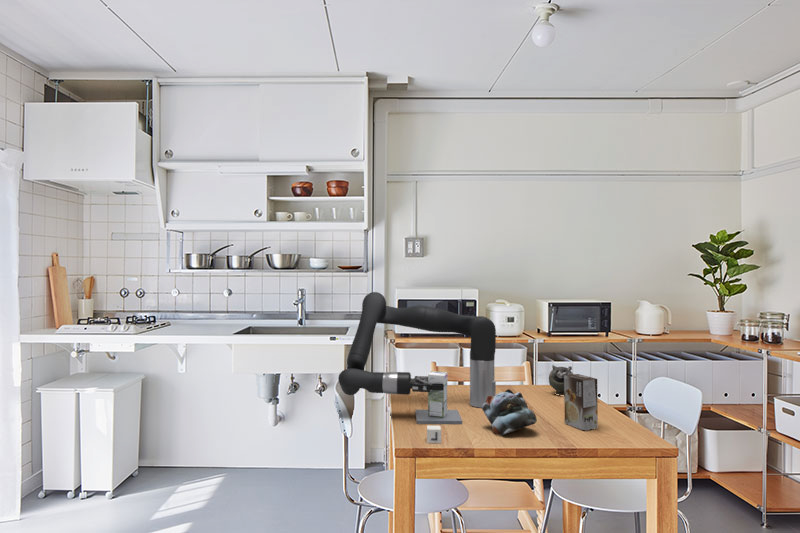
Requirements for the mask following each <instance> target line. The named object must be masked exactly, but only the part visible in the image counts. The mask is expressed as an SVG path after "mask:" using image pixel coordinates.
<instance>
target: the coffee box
mask: <svg viewBox="0 0 800 533" xmlns="http://www.w3.org/2000/svg"><path fill="white" fill-rule="evenodd" d="M563 399H564V400H563V402H564V405H563V406H564V407H563V408H564V424H565V423H566V424H565V425H567V424H568V425H567V426H570V425H571V426H570V427H573V428H575V427H576V429H578V430H581V431H583V430H585V431H590V429H592V430H595V429H594V428H599V426H598V420H599V418H598V415H599V414H598V411H599V410H598V378H596V377H595V378H594V377H592V376H587V375H583V374H578V373H573V374H572V375H564V397H563Z"/></svg>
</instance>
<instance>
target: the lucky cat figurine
mask: <svg viewBox="0 0 800 533" xmlns="http://www.w3.org/2000/svg"><path fill="white" fill-rule="evenodd" d="M481 409H482V411H483V413H484V415H485V417H486V418H487V420H488V421H489V423H490V425H491V427H492V431H493V433H494V434H496V435H497V436H500V437H502V436H505V435H507V434H509V433H512V432H515V431H517V430H519V429H524V428H526V427H530V426H533V425H535V424H536V423H537V420H538V419H537V415H536V414H535V412H534V411H533V410H531V409H530V408H529V406H528V404H527V402H526V400H525V399H524V396H523V393H521V392H516V393H514V392H513V390H511V389H509V388H507V389H506V390H504V391H500V392H499V393H496V395H495V396H494V397H493V396H487V400H486V402H485V403H484V404H483V405H482V408H481Z"/></svg>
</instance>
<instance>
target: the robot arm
mask: <svg viewBox="0 0 800 533" xmlns="http://www.w3.org/2000/svg"><path fill="white" fill-rule="evenodd" d="M361 307H362V308H361V315H360V319H359V323H358V326H357V329H356V332H355V335H354V338H353V340H352V343H351V346H350V349H349V352H348V356H347V359H346V369H343V370H342V371H340V372H339V375H338V378H337V379H338V383H339V386H340V388H341V391H342V392H343V393H344V394H345V395H348V396H353V395H356V394H357V393H358V392H359V391H360V389H363V390H366V391H367V392H368V393H371V394H387V395H403V396H405V395H410V394H411V392H413V393H428V392H430V391H432V390H439V391H443V390H444V384H440V383H433V385H432V383H428V375H426V376H421V375H420V376H419V375H414V378H413V377H412V374H411V372H410V371H409V372H407V371H406V372H405V371H387V372H382V371H381V372H379V371H377V372H376V371H373V372H372V371H367V370H365V368H366V365H367V362H368V358H369V356H370V352H371V348H372V344H373V338H374V334H375V329H376V326H377V324H383V325H395V326H400V327H401V326H402V327H408V328H412V329H418V330H421V331H426V332H431V333H432V332H433V333H452V334H453V333H454V334H460V335H463V336H466V337H467V336H468V337H470V352H469V405H470V406H471V407H475V408H480V409H482V405H483V404H484V403H485V402H486V400H487V396H493V397H494V396H495V395H497V393H496V389H497V388H496V387H497V386H496V385H497V384H496V380H495V359H496V358H495V355H496V344H497V343H496V342H497V338H496V336H497V335H496V334H497V332H496V324H494V322H493V321H492V320H491V319H490V318H488V317H485V316H480V315H478V316H477V315H464V314H459V313H455V312H453V311H452V312H451V311H448V310H445V309H441V308H436V307H433V306H427V305H414V306H408V307H394V306H389V305H387V300H386V298H385V296H384V295H383V294H381V293H380V292H378V291H372V292H369V293H368V294H366V295H365V297H364V298H363V299H362V306H361Z"/></svg>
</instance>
